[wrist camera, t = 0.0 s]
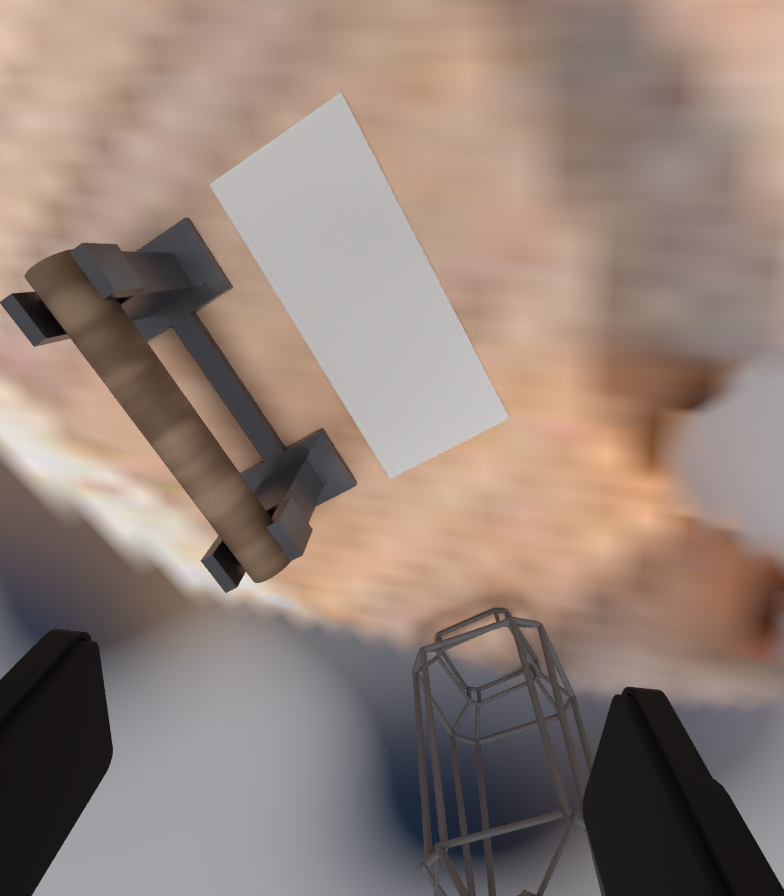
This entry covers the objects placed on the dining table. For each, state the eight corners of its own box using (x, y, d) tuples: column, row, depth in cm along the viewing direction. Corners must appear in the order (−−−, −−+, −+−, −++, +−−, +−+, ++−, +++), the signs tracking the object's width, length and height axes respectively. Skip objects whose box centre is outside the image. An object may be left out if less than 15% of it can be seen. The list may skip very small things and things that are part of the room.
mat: (211, 185, 41) (208, 184, 40) (342, 94, 38) (341, 91, 38) (390, 476, 48) (389, 479, 48) (508, 416, 46) (509, 418, 45)
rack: (95, 283, 44) (-39, 294, 31) (189, 218, 42) (87, 201, 29) (269, 527, 51) (219, 617, 38) (357, 482, 49) (335, 561, 36)
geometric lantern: (528, 564, 51) (729, 1124, 18) (584, 680, 55) (828, 1299, 22) (385, 620, 54) (332, 1186, 21) (449, 726, 58) (489, 1329, 26)
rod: (52, 279, 34) (12, 281, 30) (94, 249, 33) (57, 248, 30) (261, 562, 40) (246, 589, 37) (299, 542, 40) (288, 569, 36)
